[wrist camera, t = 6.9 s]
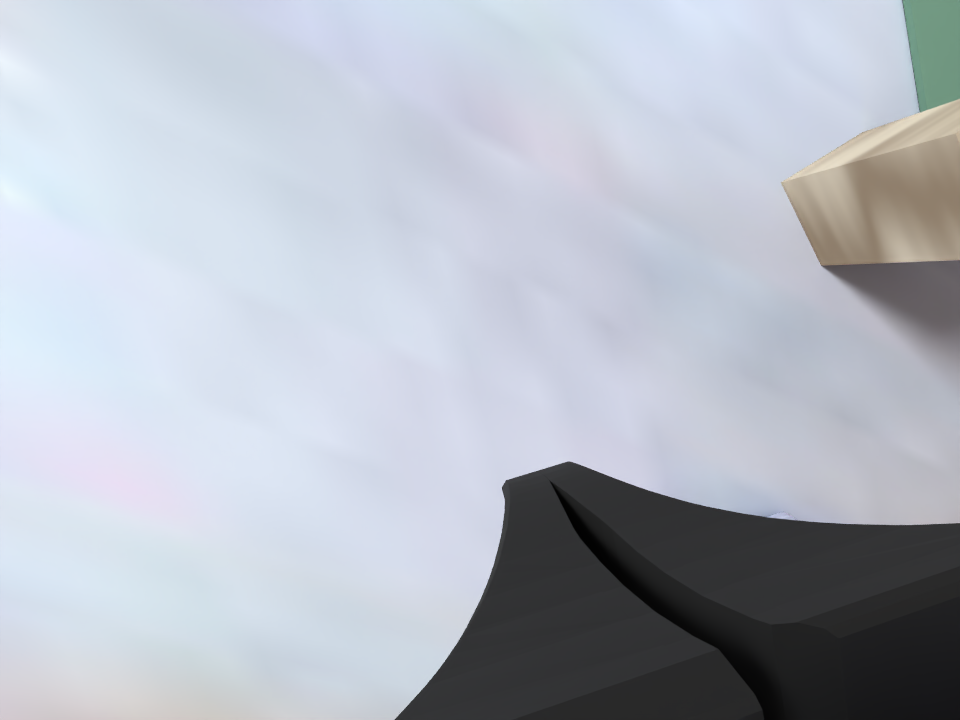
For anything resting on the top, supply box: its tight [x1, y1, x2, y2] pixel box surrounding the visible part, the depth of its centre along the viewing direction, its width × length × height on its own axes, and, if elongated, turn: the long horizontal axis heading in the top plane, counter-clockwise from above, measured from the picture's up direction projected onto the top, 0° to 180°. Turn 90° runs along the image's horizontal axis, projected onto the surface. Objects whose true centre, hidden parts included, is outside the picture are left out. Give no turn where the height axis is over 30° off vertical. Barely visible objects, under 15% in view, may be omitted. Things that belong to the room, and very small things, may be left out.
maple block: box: [781, 99, 960, 266], centre depth 18 cm, size 4×4×7 cm
